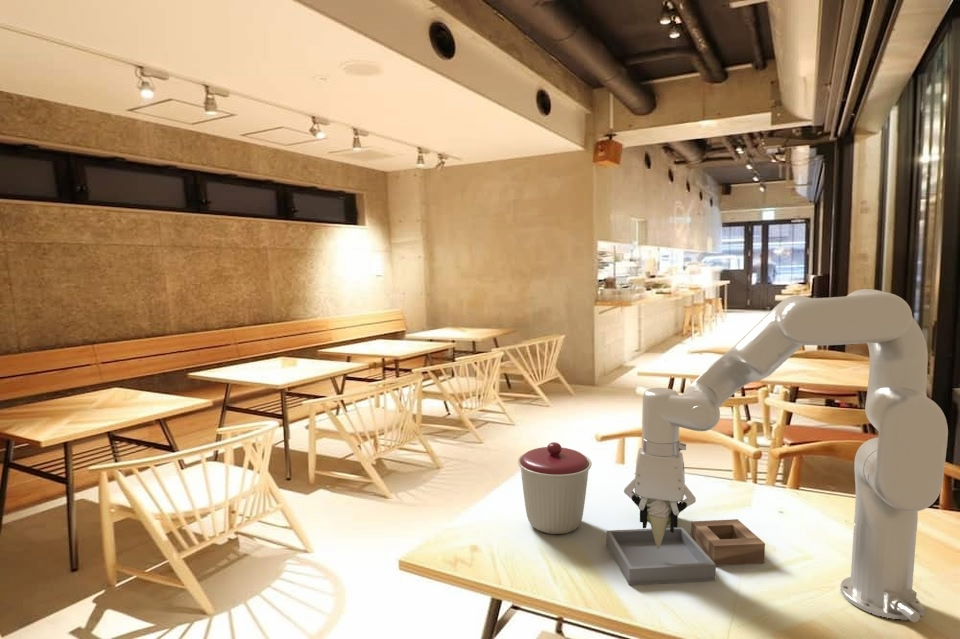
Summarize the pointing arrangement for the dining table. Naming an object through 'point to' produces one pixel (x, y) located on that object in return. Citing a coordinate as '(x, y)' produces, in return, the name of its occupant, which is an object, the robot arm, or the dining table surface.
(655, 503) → the ice cream cone
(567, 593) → the dining table surface
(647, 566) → the grey tray
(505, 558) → the dining table surface
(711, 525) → the cone stand
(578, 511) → the canister
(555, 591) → the dining table surface
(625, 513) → the dining table surface
